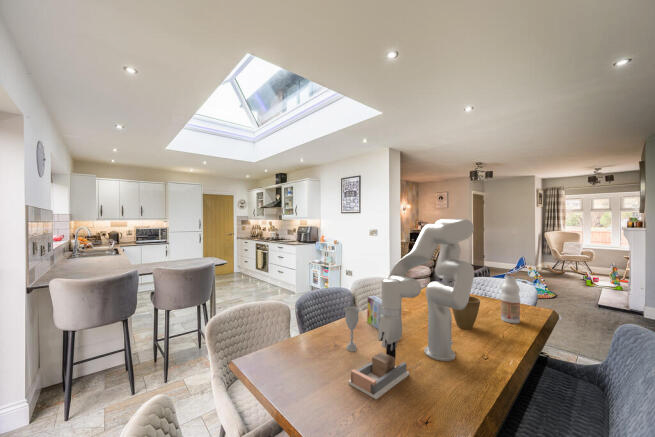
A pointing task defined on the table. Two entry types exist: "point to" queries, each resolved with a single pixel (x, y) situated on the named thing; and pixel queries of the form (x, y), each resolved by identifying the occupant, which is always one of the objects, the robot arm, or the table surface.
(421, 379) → the table surface
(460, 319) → the plant pot
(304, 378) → the table surface
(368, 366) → the chute
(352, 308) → the chalice
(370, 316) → the snack box
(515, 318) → the white plastic bottle
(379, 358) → the walnut block
